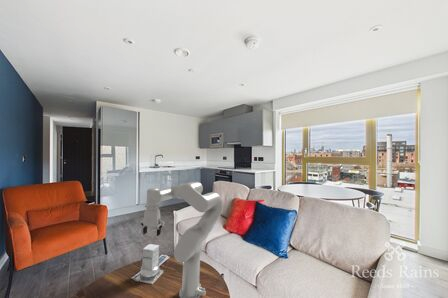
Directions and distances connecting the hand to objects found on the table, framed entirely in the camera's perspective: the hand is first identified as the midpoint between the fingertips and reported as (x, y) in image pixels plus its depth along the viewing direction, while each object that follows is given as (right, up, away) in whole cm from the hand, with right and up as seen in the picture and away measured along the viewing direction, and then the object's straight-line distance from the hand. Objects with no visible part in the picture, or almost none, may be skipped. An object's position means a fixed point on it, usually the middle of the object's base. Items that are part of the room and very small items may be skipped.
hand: (151, 234), depth 120 cm
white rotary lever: (-1, -27, -1) cm, 27 cm away
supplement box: (-1, -21, -1) cm, 21 cm away
